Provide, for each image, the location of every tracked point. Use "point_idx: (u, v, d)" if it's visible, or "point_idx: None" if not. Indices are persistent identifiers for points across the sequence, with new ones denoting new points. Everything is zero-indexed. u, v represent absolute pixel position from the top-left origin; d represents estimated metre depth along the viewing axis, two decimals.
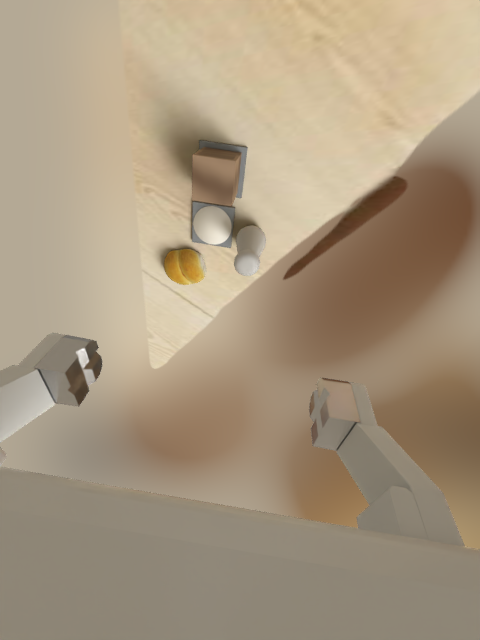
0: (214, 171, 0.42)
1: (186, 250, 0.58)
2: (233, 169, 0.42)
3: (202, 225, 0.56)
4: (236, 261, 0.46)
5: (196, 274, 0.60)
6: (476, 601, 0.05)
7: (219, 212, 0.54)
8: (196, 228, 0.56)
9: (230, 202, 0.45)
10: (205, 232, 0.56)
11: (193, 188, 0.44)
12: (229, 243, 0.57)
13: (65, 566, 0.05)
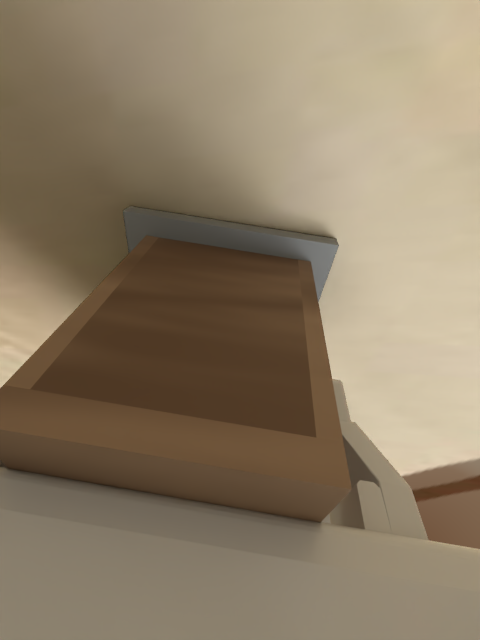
0: None
1: None
2: (317, 510, 0.05)
3: None
4: None
5: None
6: (477, 601, 0.05)
7: None
8: None
9: None
10: None
11: None
12: None
13: (65, 566, 0.05)
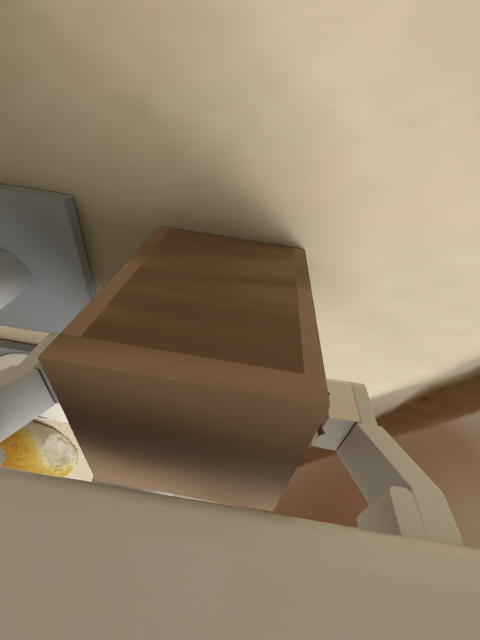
0: (188, 425, 0.07)
1: None
2: (305, 431, 0.07)
3: None
4: None
5: None
6: (477, 601, 0.05)
7: None
8: None
9: (269, 504, 0.10)
10: None
11: (91, 459, 0.09)
12: None
13: (65, 565, 0.05)
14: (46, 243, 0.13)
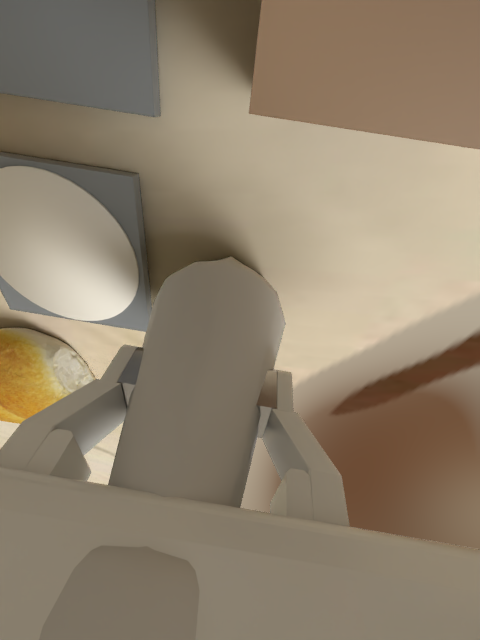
0: None
1: None
2: None
3: (18, 254, 0.13)
4: None
5: None
6: (477, 601, 0.05)
7: (67, 198, 0.12)
8: (1, 264, 0.14)
9: None
10: (40, 280, 0.14)
11: None
12: (142, 318, 0.15)
13: (65, 566, 0.05)
14: None
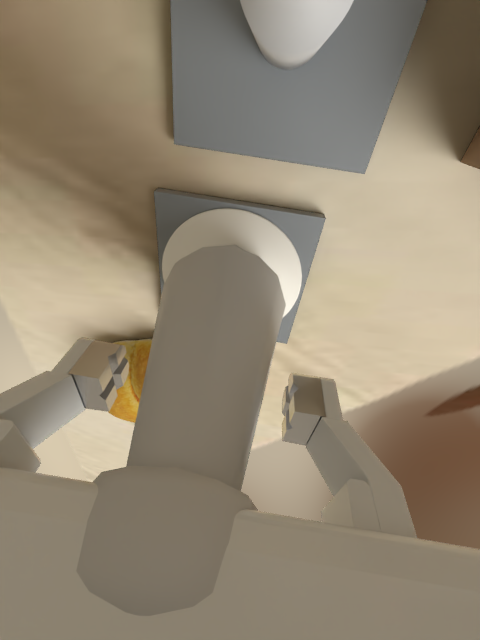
0: None
1: None
2: None
3: None
4: None
5: None
6: (476, 601, 0.05)
7: (259, 234, 0.14)
8: None
9: None
10: None
11: None
12: (285, 331, 0.17)
13: (65, 566, 0.05)
14: None
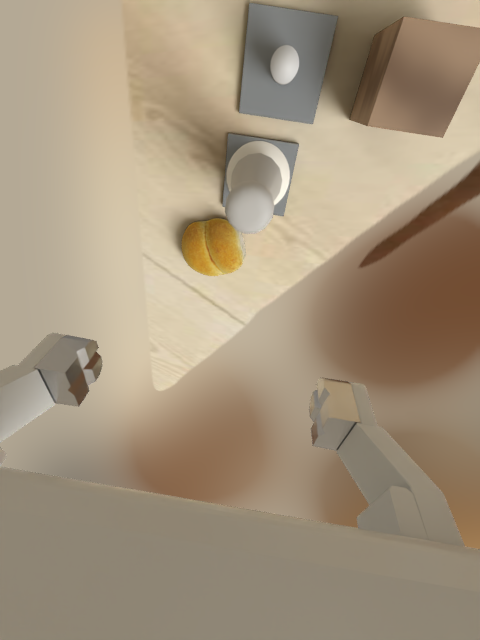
0: (437, 57, 0.21)
1: (217, 220, 0.37)
2: None
3: None
4: (229, 202, 0.24)
5: (232, 259, 0.38)
6: (477, 601, 0.05)
7: (271, 153, 0.32)
8: None
9: (444, 129, 0.23)
10: None
11: (379, 99, 0.23)
12: (282, 208, 0.36)
13: (65, 565, 0.05)
14: (315, 46, 0.26)
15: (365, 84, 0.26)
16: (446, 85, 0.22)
